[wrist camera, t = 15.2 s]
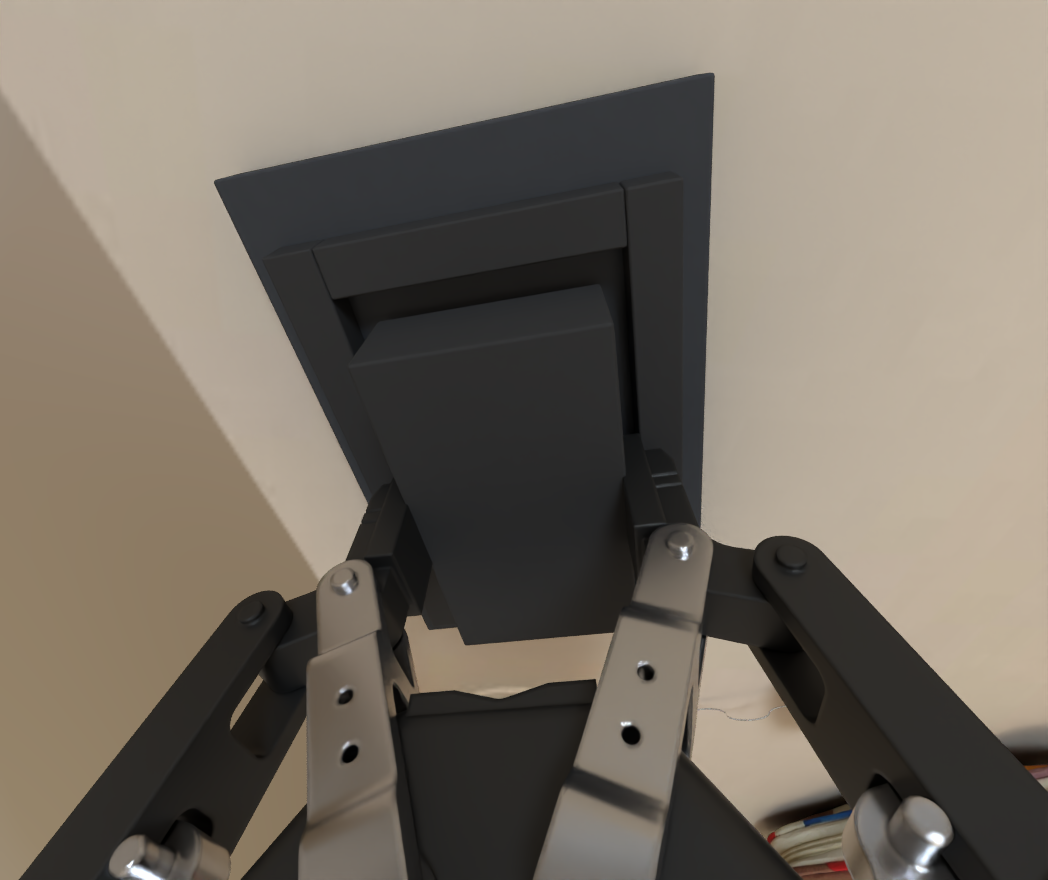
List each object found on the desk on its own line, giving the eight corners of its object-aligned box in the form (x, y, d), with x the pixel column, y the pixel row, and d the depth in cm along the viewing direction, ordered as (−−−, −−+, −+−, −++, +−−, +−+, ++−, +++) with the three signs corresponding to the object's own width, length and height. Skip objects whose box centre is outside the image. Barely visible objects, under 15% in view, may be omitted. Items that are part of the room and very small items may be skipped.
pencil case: (1089, 789, 31) (1175, 895, 27) (775, 843, 37) (805, 936, 33) (1089, 712, 26) (1196, 829, 22) (723, 790, 32) (752, 892, 28)
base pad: (238, 174, 12) (185, 187, 10) (699, 74, 11) (732, 69, 9) (433, 606, 22) (424, 652, 20) (690, 580, 20) (705, 627, 18)
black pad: (376, 320, 12) (344, 366, 10) (600, 282, 12) (614, 322, 9) (472, 583, 18) (464, 646, 16) (626, 567, 17) (638, 631, 15)
